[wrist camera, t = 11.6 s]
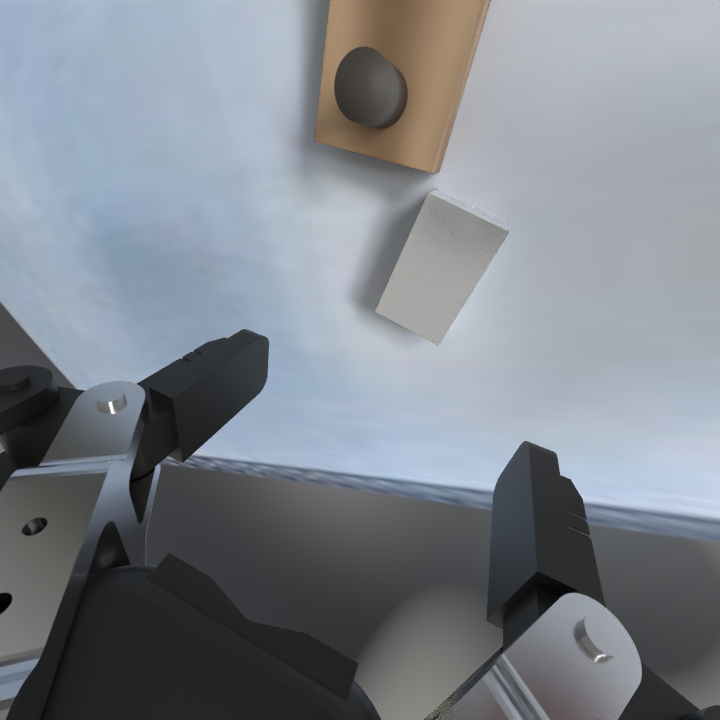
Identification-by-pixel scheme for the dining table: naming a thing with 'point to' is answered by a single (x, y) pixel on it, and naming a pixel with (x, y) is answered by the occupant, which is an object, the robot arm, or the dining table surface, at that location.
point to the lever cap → (440, 265)
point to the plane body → (396, 76)
